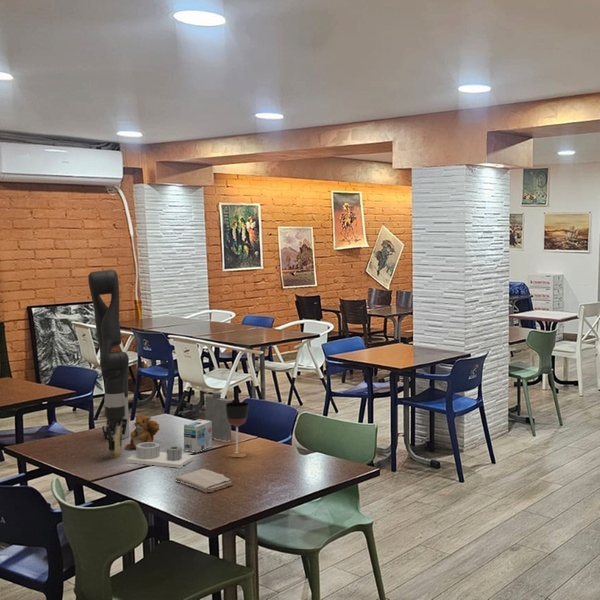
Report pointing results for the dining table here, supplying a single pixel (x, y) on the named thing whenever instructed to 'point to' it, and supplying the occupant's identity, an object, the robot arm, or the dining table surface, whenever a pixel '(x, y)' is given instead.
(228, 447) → the dining table surface
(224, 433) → the grey upright flat block
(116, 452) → the brass cylinder
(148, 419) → the stuffed squirrel
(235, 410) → the wineglass
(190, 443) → the light bulb box
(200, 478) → the washcloth
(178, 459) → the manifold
